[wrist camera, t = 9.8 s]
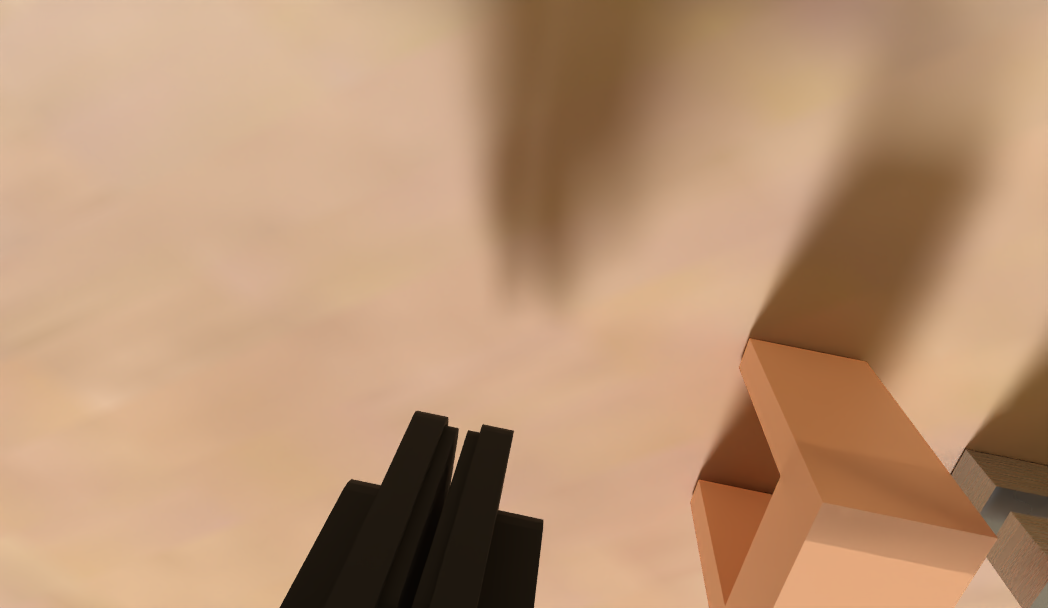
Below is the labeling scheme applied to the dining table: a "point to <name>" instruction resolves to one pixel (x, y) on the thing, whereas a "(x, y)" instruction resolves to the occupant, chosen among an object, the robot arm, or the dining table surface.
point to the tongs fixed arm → (1002, 486)
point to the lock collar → (836, 499)
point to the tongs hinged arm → (1023, 558)
